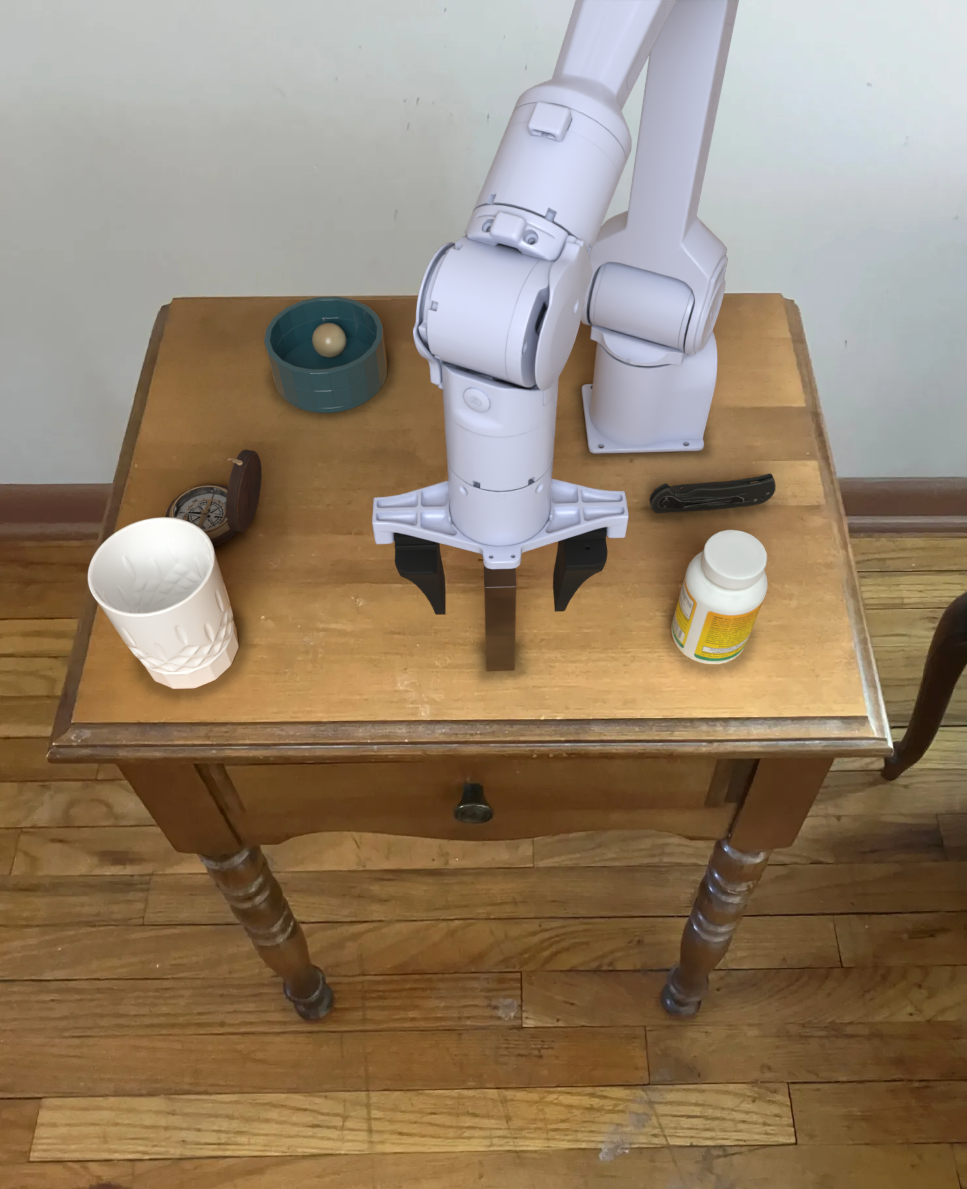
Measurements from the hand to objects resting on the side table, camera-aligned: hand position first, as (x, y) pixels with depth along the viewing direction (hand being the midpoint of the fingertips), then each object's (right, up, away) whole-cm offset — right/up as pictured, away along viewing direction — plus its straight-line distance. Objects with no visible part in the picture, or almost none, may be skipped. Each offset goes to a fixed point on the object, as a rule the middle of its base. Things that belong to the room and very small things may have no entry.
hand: (499, 600), depth 63 cm
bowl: (-15, +20, +24) cm, 34 cm away
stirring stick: (0, -4, +6) cm, 7 cm away
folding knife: (+17, +7, +14) cm, 23 cm away
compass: (-22, +5, +13) cm, 26 cm away
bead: (-15, +22, +24) cm, 36 cm away
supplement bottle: (+15, -3, +7) cm, 17 cm away
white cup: (-22, -4, +7) cm, 23 cm away
